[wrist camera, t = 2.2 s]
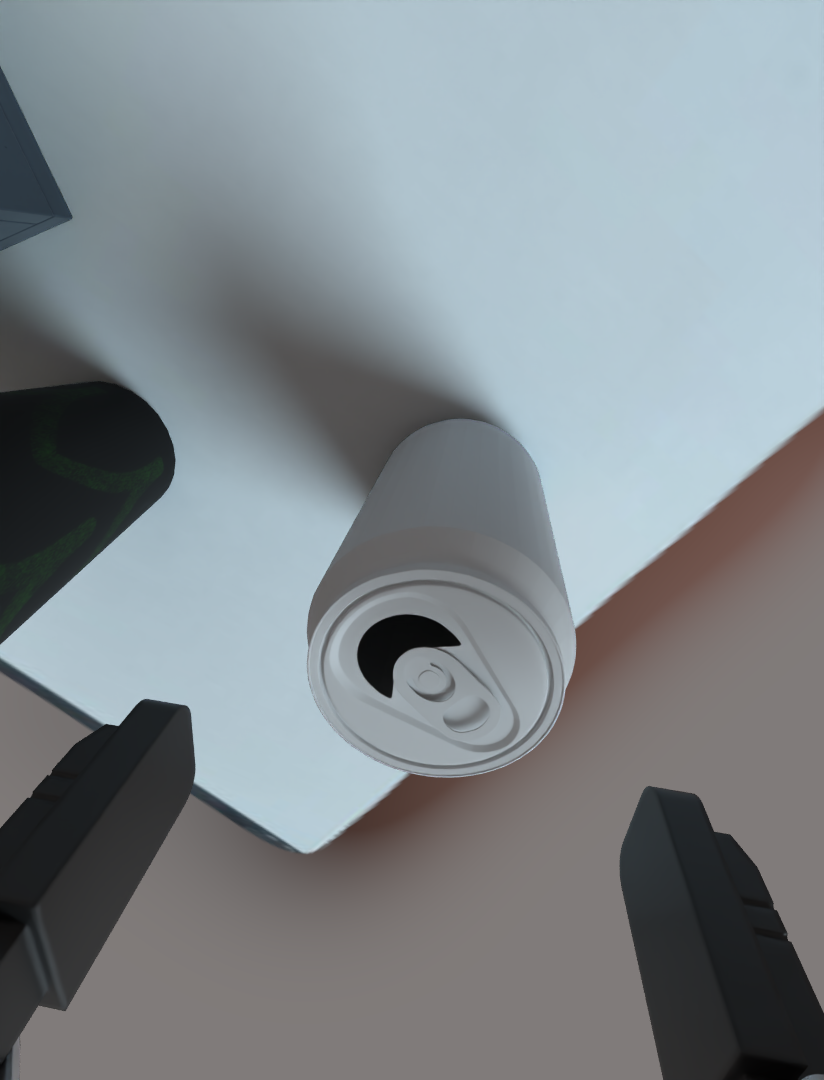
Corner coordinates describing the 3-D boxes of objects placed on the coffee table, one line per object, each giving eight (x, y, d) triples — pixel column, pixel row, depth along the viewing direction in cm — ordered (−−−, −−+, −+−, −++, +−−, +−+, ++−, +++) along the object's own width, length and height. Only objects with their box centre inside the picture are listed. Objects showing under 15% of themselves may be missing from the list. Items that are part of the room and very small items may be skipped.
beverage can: (461, 378, 21) (427, 488, 10) (575, 495, 22) (650, 701, 12) (352, 489, 24) (231, 672, 13) (460, 589, 25) (434, 831, 14)
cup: (114, 556, 27) (-146, 749, 16) (-8, 416, 24) (-408, 530, 14) (234, 479, 24) (24, 647, 13) (111, 315, 22) (-264, 356, 11)
